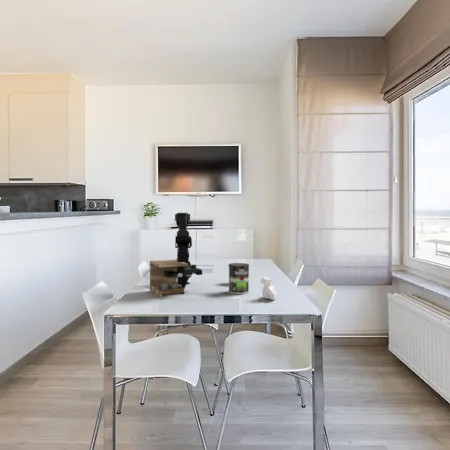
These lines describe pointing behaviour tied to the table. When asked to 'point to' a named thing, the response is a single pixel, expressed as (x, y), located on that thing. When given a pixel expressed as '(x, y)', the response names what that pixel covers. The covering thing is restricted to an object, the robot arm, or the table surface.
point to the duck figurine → (268, 289)
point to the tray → (171, 289)
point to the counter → (162, 274)
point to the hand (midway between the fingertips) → (183, 289)
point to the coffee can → (238, 278)
